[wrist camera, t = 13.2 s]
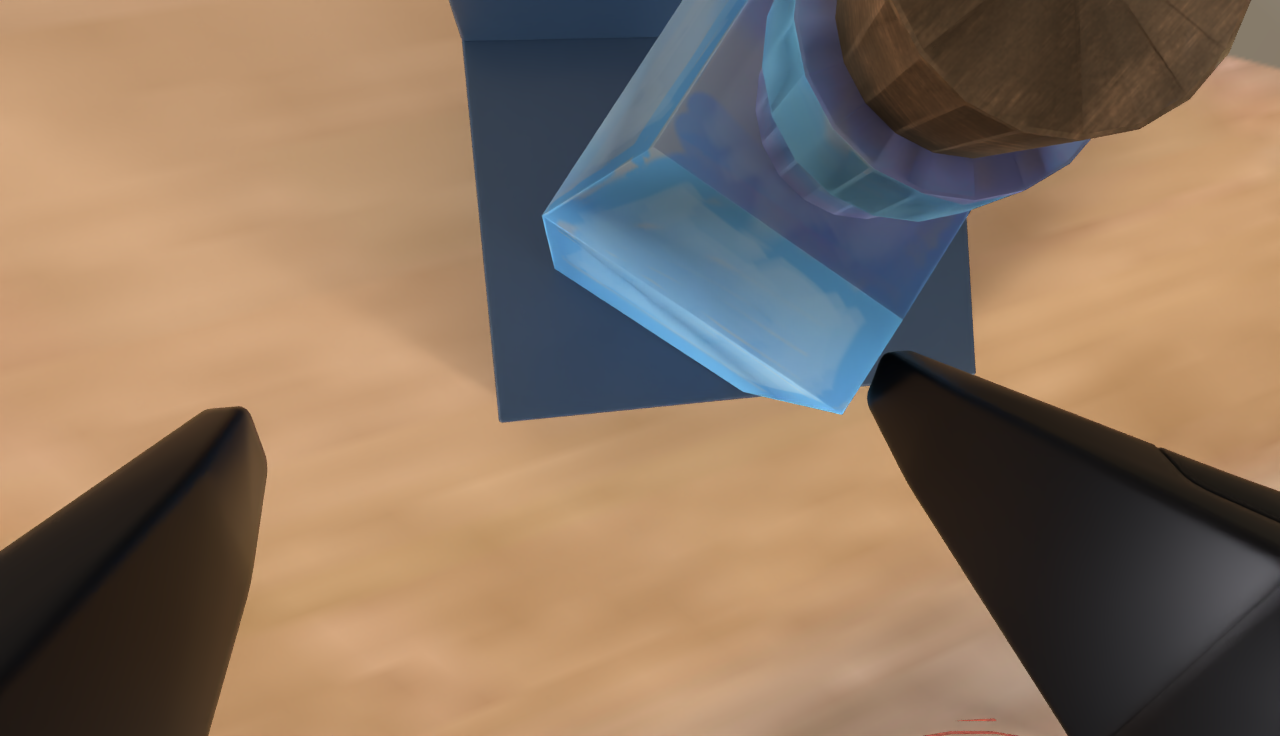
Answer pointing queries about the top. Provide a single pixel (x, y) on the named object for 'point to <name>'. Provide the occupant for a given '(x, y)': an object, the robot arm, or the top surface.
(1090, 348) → the top surface
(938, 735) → the figurine
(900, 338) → the riser shelf
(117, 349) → the top surface
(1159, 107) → the perfume bottle
